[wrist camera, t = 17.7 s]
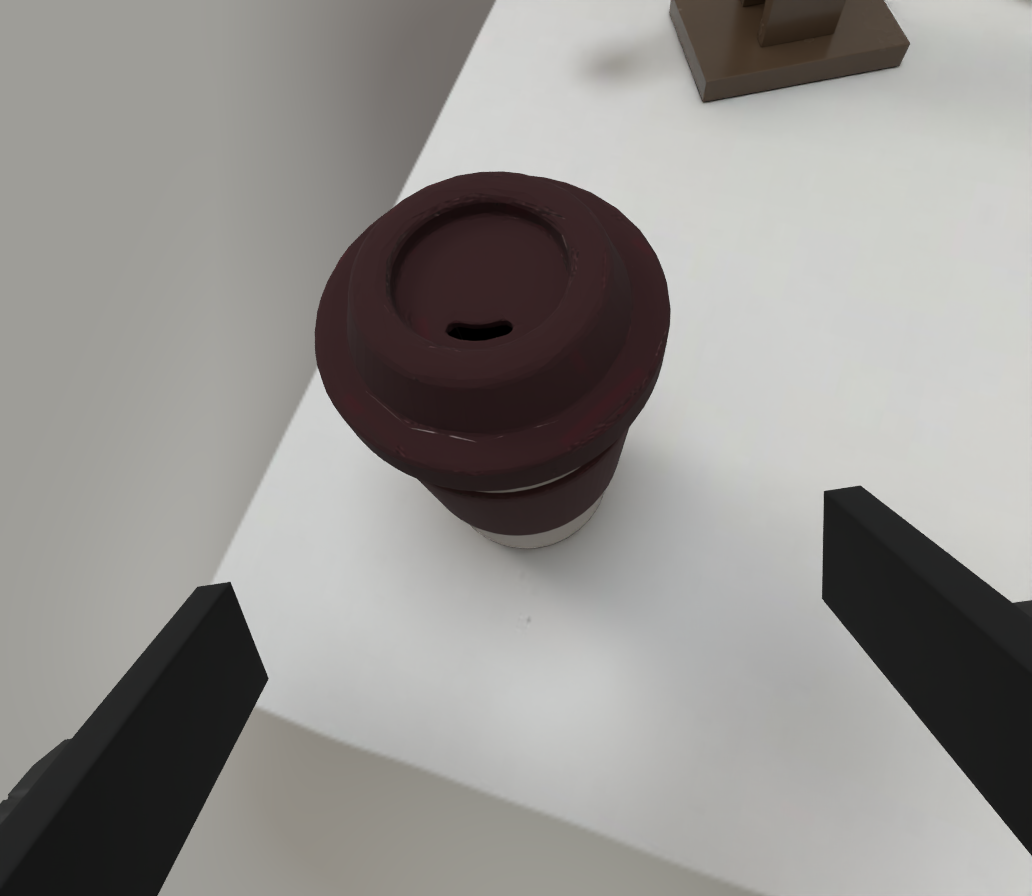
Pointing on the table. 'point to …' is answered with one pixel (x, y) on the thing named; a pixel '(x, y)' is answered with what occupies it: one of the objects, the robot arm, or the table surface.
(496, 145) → the table surface
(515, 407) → the coffee cup
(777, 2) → the brown lever base
